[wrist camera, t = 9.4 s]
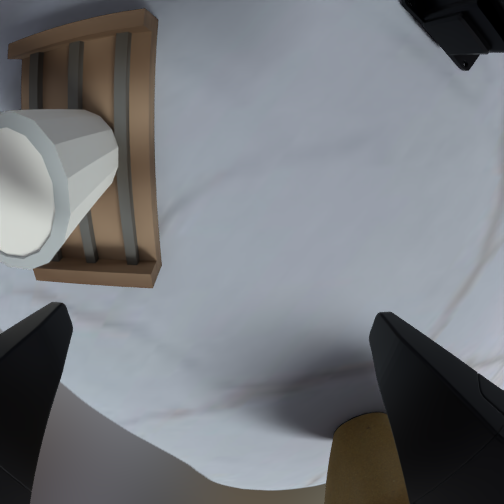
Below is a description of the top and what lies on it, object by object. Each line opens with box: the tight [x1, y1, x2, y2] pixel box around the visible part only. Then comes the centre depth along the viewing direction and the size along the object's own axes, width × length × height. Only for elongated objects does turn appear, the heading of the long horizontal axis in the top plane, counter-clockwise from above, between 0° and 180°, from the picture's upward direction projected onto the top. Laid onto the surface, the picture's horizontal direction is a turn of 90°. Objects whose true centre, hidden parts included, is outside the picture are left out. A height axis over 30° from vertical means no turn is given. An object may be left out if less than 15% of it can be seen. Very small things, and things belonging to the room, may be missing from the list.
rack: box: [8, 8, 162, 288], centre depth 16 cm, size 16×9×3 cm, turn 177°
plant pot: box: [324, 412, 410, 504], centre depth 26 cm, size 15×15×16 cm
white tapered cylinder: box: [0, 109, 118, 270], centre depth 12 cm, size 7×7×7 cm
